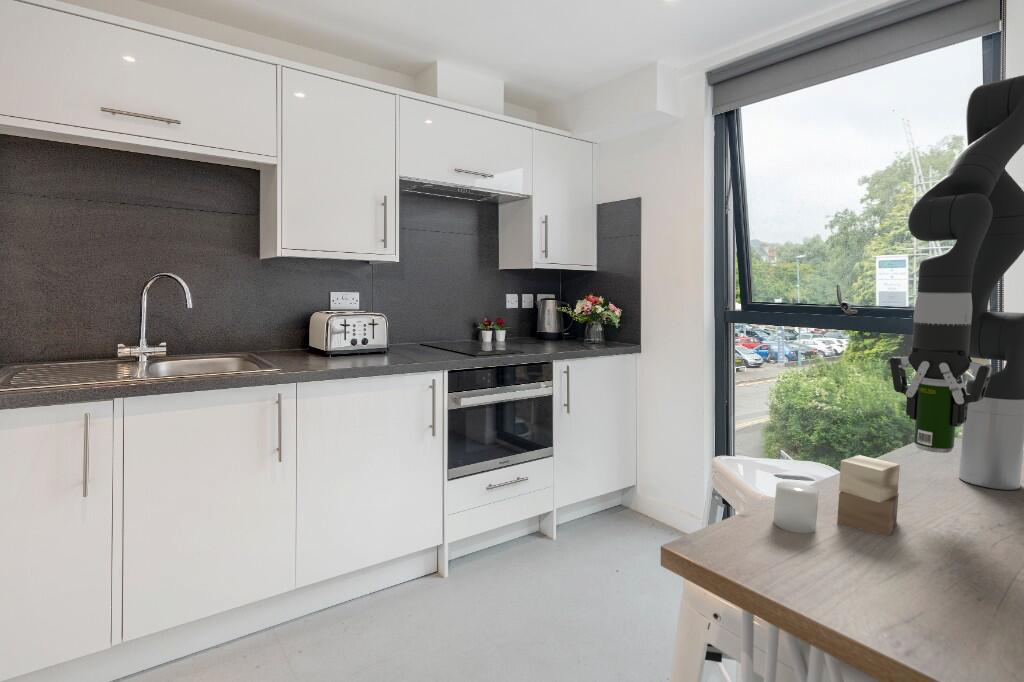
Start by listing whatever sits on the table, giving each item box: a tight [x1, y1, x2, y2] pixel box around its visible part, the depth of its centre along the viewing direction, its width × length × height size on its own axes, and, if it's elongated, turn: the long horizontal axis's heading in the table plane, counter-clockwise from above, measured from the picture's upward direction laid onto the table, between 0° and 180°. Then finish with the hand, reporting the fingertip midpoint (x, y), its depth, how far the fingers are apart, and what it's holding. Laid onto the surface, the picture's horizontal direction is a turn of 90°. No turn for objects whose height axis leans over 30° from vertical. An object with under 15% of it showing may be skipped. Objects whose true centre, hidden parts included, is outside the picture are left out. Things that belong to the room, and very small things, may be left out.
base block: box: [836, 491, 900, 536], centre depth 91 cm, size 7×7×5 cm
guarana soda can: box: [913, 377, 957, 454], centre depth 95 cm, size 5×5×12 cm
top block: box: [838, 454, 901, 503], centre depth 91 cm, size 6×6×5 cm
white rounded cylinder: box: [773, 481, 820, 534], centre depth 90 cm, size 6×6×6 cm
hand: (934, 421), depth 95 cm, fingers closed on guarana soda can, 5 cm apart
